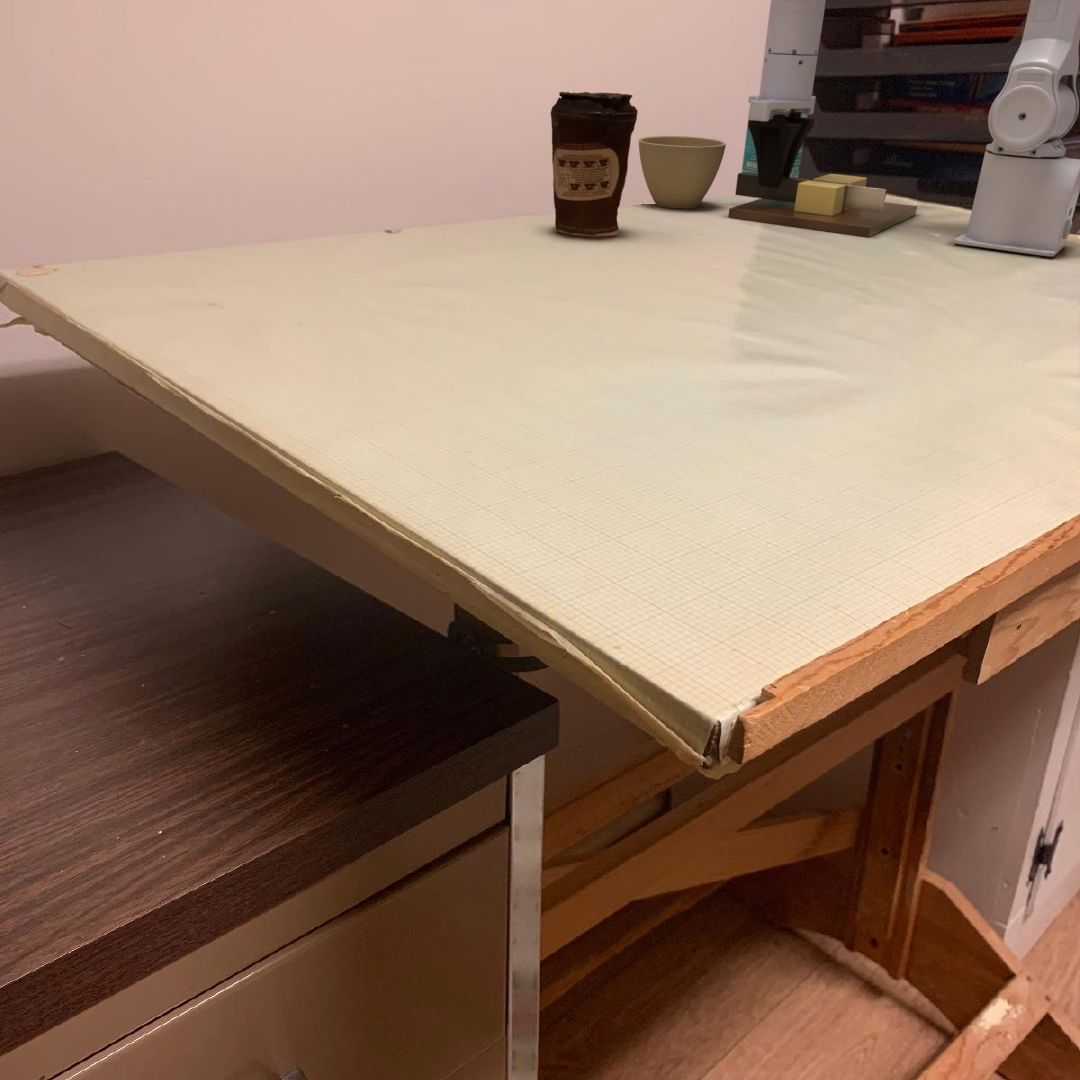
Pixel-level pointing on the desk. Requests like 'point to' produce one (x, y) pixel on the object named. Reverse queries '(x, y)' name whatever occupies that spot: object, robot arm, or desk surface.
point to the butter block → (843, 181)
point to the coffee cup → (590, 160)
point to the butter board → (824, 217)
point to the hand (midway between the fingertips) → (772, 185)
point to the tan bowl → (680, 168)
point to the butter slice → (819, 198)
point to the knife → (788, 185)
